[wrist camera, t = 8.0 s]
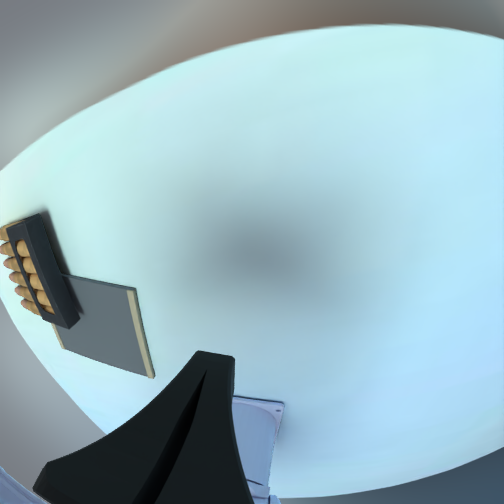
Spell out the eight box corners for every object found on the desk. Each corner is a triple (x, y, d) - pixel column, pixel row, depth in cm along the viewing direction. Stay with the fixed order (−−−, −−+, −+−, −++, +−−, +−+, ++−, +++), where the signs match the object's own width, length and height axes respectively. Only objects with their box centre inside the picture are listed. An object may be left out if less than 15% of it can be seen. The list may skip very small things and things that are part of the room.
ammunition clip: (39, 212, 19) (-3, 224, 23) (23, 220, 18) (-14, 231, 22) (81, 319, 24) (29, 305, 27) (69, 330, 22) (19, 312, 26)
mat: (155, 375, 27) (153, 378, 27) (63, 345, 28) (61, 348, 28) (135, 288, 22) (132, 291, 22) (35, 266, 24) (32, 269, 23)
